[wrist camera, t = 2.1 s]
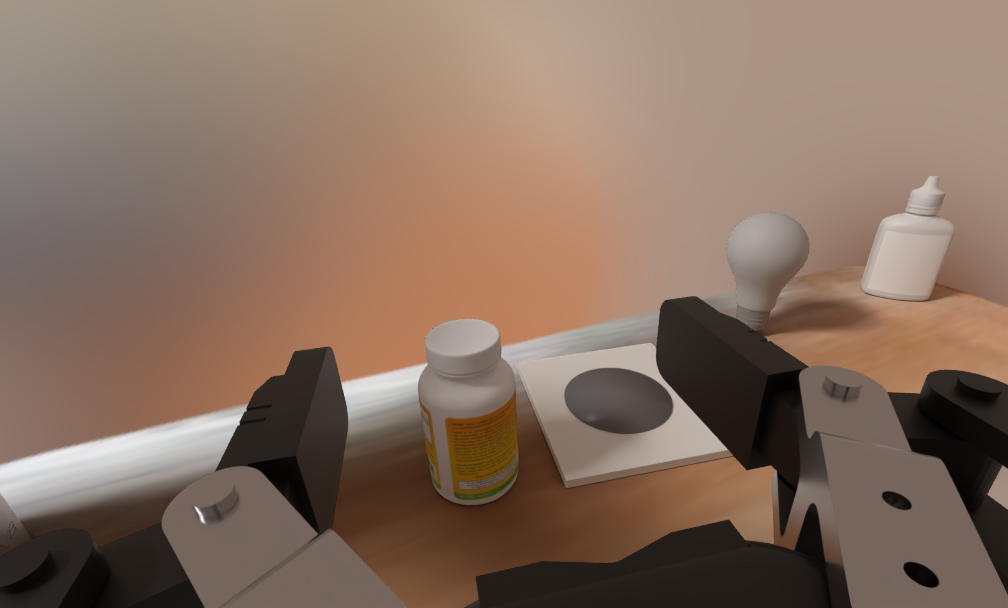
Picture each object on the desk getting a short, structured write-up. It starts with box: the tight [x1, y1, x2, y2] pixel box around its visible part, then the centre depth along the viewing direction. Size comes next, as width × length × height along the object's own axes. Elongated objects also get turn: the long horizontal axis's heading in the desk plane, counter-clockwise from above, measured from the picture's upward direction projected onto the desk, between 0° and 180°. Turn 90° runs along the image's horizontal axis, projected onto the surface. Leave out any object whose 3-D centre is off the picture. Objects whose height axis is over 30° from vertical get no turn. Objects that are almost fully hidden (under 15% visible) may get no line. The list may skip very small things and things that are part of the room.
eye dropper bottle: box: [861, 176, 955, 301], centre depth 46 cm, size 4×6×12 cm
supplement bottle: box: [418, 319, 519, 505], centre depth 26 cm, size 5×5×10 cm
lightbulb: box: [726, 212, 809, 332], centre depth 40 cm, size 6×6×11 cm
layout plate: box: [517, 343, 733, 488], centre depth 34 cm, size 12×13×1 cm
